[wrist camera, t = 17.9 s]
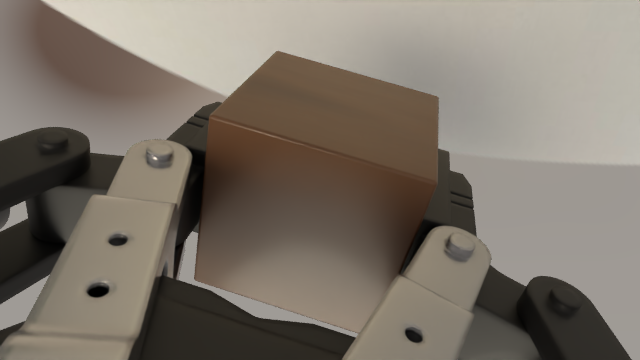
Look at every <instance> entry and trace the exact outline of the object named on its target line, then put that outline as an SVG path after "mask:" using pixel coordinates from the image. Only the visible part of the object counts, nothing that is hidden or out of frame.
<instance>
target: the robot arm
mask: <svg viewBox="0 0 640 360" xmlns="http://www.w3.org/2000/svg"><path fill="white" fill-rule="evenodd" d="M221 104H222V103H220V102H215V103H213V104H209V105H206V106H203V107H202V108H201V109H200V110H199V111H198V112H196V113H195V114H194V117H193V116H192V117H191V118H190V119H189V120H188V121H187V123H184V124H183V125H182V126H181V127H180V128H179V129H178V130H176V131H175V132H174V133H173V134H172V135H171V136H170V137H169V138H168V139H167V140H161V139H154V140H146V141H141V142H138V143H136V144H134V145H132V146H131V147H130V148H129V149H128V151H127V153H126V155H125V156H116V155H106V154H96V153H90V143H89V139H88V138H87V136H85V135H84V134H83V133H81V132H79V131H76V130H73V129H69V128H62V127H48V128H40V129H36V130H32V131H29V132H26V133H23V134H21V135H18V136H14V137H11V138H8V139H5V140H2V141H0V212H1V211H3V210H6V209H8V208H10V207H12V206H14V205H17V204H19V203H21V202H23V201H26V207H27V213H28V219H26V220H24V221H22V222H20V223H18V224H16V225H14V226H11V227H9V228H7V229H6V230H3V231H1V232H0V304H1V303H3V302H5V301H6V300H8V299H10V298H11V297H13V296H15V295H16V294H18V293H20V292H21V291H23V290H25V289H26V288H28V287H30V286H31V285H33V284H34V283H36V282H38V281H39V280H41V279H43V278H45V277H46V276H48V275H49V274H50V276H49V278H48V279H47V281H46V283H45V285H44V287H43V289H42V291H41V293H40V295H39V297H38V299H37V300H36V302H35V304H34V306H33V308H32V310H31V312H30V314H29V316H28V317H27V319H26V321H24V322H21V323H19V324H16V325H13V326H11V327H8V328H6V329H3V330H0V360H632V359H631V358H630V357H629V355H628V354H627V352H626V351H625V349H624V348H623V347H622V345H621V344H620V342H619V341H618V339H617V338H616V336H615V335H614V333H613V332H612V331H611V329H610V328H609V326H608V325H607V323H606V322H605V321H604V319H603V318H602V316H601V315H600V313H599V312H598V310H597V309H596V308H595V306H594V305H593V303H592V302H591V301H590V300H589V299H588V298H587V297H586V296H585V295H584V294H583V293H582V292H581V291H579V290H578V289H577V288H575V287H574V286H572V285H570V284H568V283H566V282H564V281H562V280H559V279H557V278H553V277H548V276H538V277H535V278H533V279H532V280H531V281H530V282H529V284H528V285H527V286H524V285H522V284H520V283H518V282H516V281H514V280H513V279H511V278H509V277H507V276H505V275H504V274H502V273H500V272H499V271H497V270H496V269H495V268H493V267H492V266H491V265H490V263H491V254H490V251H489V249H488V248H487V247H486V245H485V244H484V243H483V242H482V241H481V240H480V239H478V238H477V236H476V226H475V216H474V210H473V207H474V206H473V200H472V198H473V197H472V188H471V185H470V184H469V183H468V181H467V180H466V178H465V177H464V175H463V174H460V173H457V172H453V171H450V162H449V152H448V151H445V150H441V149H438V185H437V187H436V190H435V192H434V194H433V197H432V199H431V202H430V204H429V206H428V209H427V211H426V213H425V216H424V218H423V221H422V223H421V225H420V228H419V230H418V232H417V235H416V237H415V240H414V242H413V244H412V247H411V249H410V251H409V254H408V256H407V259H406V261H405V263H404V266H403V268H402V270H401V273H399V274H398V275H397V276H396V277H395V279H394V280H393V282H392V283H391V285H390V286H389V288H388V289H387V291H386V293H385V294H384V296H383V297H382V299H381V300H380V302H379V303H378V305H377V306H376V308H375V309H374V311H373V312H372V314H371V315H370V317H369V318H368V320H367V322H366V323H365V325H364V326H363V328H362V329H361V331H360V332H359V334H358V335H357V337H356V338H355V337H352V336H349V335H346V334H343V333H340V332H337V331H334V330H330V329H327V328H324V327H321V326H318V325H315V324H309V323H299V322H290V321H280V320H271V319H262V318H258V317H255V316H253V315H251V314H249V313H248V312H246V311H244V310H242V309H241V308H239V307H237V306H236V305H234V304H232V303H231V302H229V301H227V300H226V299H224V298H222V297H221V296H219V295H217V294H215V293H213V292H212V291H210V290H207V289H204V288H201V287H198V286H195V285H192V284H188V283H185V282H182V281H179V280H178V279H179V274H180V270H181V265H182V261H183V256H184V252H185V243H186V239H187V237H188V236H189V234H190V233H191V232H192V231H194V232H197V233H198V232H199V221H200V210H201V200H202V189H203V178H204V167H205V157H206V146H207V135H208V124H209V116H210V114H211V113H213V112H214V111H215V110H216V109H217V108H218V107H219V106H220V105H221Z"/></svg>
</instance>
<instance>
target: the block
mask: <svg viewBox="0 0 640 360" xmlns="http://www.w3.org/2000/svg"><path fill="white" fill-rule="evenodd" d="M438 114H439V98H438V97H437V96H434V95H430V94H427V93H423V92H420V91H416V90H413V89H409V88H406V87H402V86H399V85H395V84H392V83H388V82H385V81H381V80H378V79H374V78H371V77H367V76H364V75H360V74H357V73H353V72H350V71H346V70H343V69H339V68H336V67H332V66H329V65H325V64H322V63H318V62H315V61H311V60H308V59H304V58H301V57H297V56H294V55H290V54H287V53H283V52H280V51H276V52H275V53H274V54H273V55H272V56H271V57H270V58H269V59H268V60H267V61H266V62H265V63H264V64H263V65H262V66H261V67H260V68H259V69H258V70H256V71H255V72H254V73H253V74H252V75H251V76H250V77H249V78H248V79H247V80H246V81H245V82H244V83H243V84H242V85H241V86H240V87H239V88H238V89H237V90H236V91H235V92H233V93H232V94H231V95H230V96H229V97H228V98H227V99H226V100H225V101H224V102H223V103H222V104H221V105H220V106H219V107H218V108H217V109H216V110H215V111H214V112H213V113H211V114H210V116H209V124H208V135H207V146H206V157H205V167H204V178H203V189H202V200H201V210H200V221H199V232H198V243H197V254H196V264H195V275H194V279H195V280H196V281H198V282H201V283H205V284H208V285H211V286H214V287H217V288H220V289H223V290H226V291H229V292H232V293H235V294H238V295H241V296H245V297H248V298H251V299H254V300H257V301H260V302H263V303H266V304H269V305H273V306H275V307H278V308H282V309H285V310H288V311H291V312H294V313H297V314H300V315H303V316H306V317H309V318H312V319H316V320H319V321H322V322H325V323H328V324H331V325H334V326H337V327H340V328H344V329H346V330H349V331H353V332H356V333H359V332H360V331H361V329H362V328H363V326H364V325H365V323H366V322H367V320H368V318H369V317H370V315H371V314H372V312H373V311H374V309H375V308H376V306H377V305H378V303H379V302H380V300H381V299H382V297H383V296H384V294H385V293H386V291H387V289H388V288H389V286H390V285H391V283H392V282H393V280H394V279H395V277H396V276H397V275H398V274H399V273H401V270H402V268H403V266H404V263H405V261H406V259H407V256H408V254H409V251H410V249H411V247H412V244H413V242H414V240H415V237H416V235H417V232H418V230H419V228H420V225H421V223H422V221H423V218H424V216H425V213H426V211H427V209H428V206H429V204H430V202H431V199H432V197H433V194H434V192H435V190H436V187H437V185H438Z"/></svg>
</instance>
